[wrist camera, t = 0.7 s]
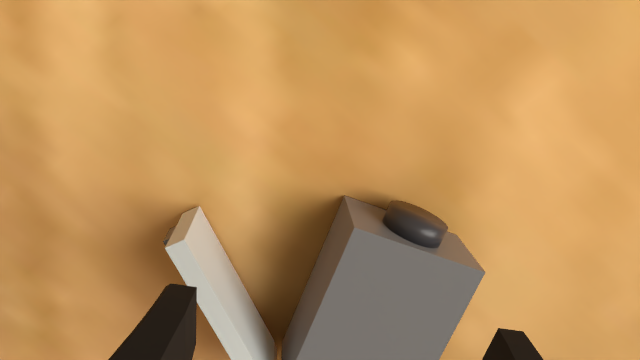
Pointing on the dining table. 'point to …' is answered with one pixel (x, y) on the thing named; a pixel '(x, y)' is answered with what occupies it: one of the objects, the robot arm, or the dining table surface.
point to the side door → (218, 288)
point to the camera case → (383, 287)
